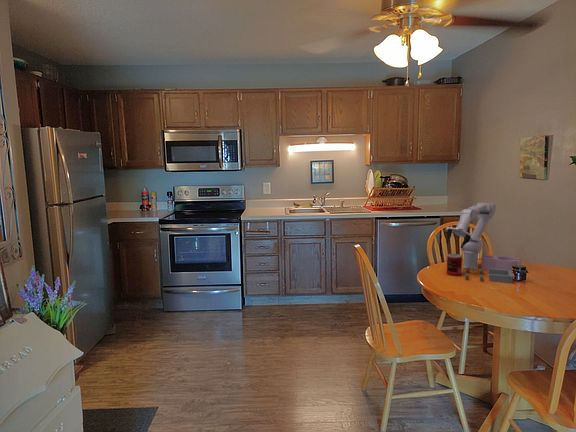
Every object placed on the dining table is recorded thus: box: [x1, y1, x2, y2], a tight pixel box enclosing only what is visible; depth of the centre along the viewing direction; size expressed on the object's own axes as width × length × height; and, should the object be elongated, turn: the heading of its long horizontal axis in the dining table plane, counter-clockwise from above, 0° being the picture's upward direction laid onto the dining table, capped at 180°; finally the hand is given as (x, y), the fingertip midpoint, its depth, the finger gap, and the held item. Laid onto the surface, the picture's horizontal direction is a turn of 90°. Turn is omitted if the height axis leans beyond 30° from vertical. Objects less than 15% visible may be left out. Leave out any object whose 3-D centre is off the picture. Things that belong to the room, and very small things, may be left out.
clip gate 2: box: [479, 268, 485, 282], centre depth 218 cm, size 19×2×2 cm, turn 154°
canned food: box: [446, 253, 463, 277], centre depth 223 cm, size 8×8×11 cm
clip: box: [480, 254, 522, 272], centre depth 232 cm, size 20×12×7 cm, turn 61°
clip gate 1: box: [465, 267, 471, 281], centre depth 221 cm, size 19×2×2 cm, turn 154°
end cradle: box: [488, 268, 514, 284], centre depth 214 cm, size 14×11×4 cm
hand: (454, 244), depth 220 cm, fingers open, 7 cm apart
